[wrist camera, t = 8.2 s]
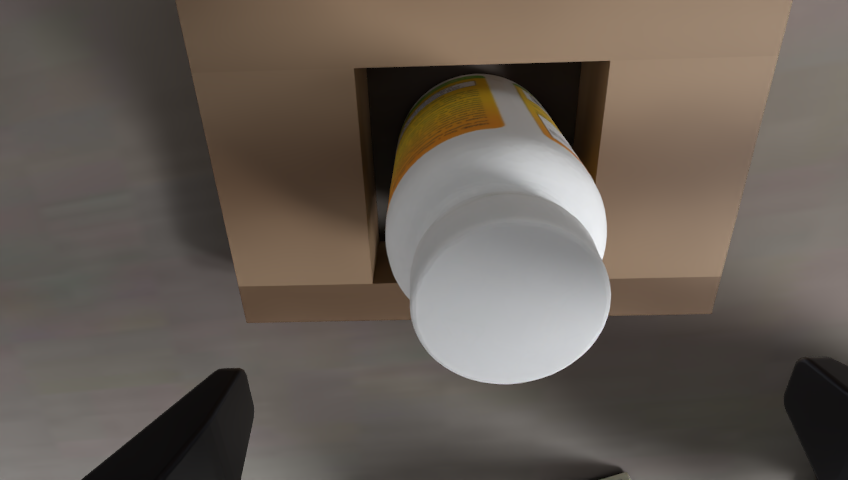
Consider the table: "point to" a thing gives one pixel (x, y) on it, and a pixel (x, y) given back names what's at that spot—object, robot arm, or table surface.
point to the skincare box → (618, 477)
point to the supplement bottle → (496, 233)
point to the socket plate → (473, 45)
